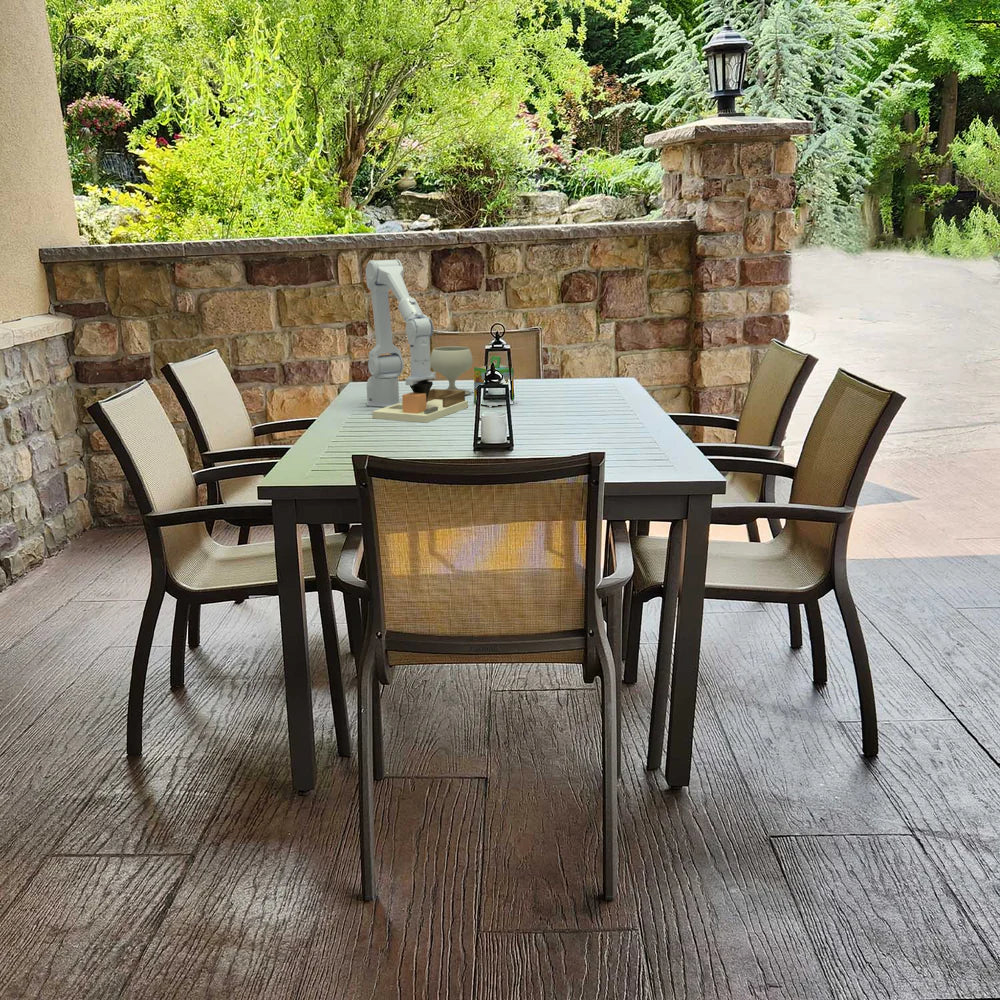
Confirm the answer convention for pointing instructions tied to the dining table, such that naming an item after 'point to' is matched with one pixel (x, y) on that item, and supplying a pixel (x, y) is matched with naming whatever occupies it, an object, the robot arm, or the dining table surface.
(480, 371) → the chalk box
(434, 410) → the short rod
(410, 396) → the cube
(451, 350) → the chalice
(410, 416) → the deck
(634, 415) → the dining table surface
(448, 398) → the cubby
